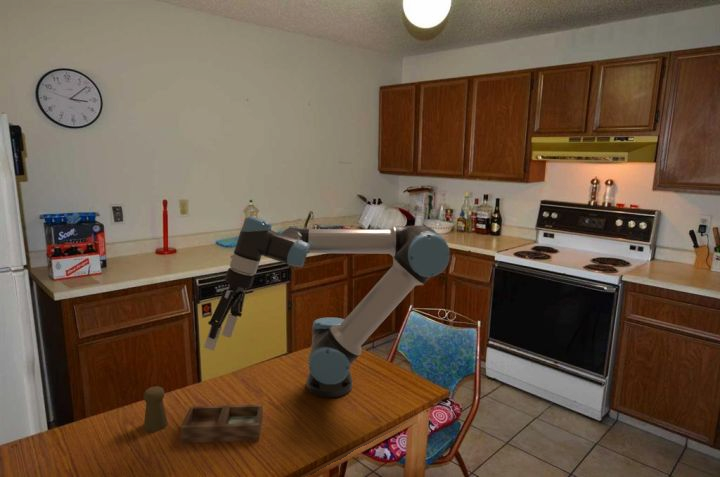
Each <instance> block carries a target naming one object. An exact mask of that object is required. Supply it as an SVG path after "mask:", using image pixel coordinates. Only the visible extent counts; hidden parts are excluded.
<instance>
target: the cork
mask: <svg viewBox="0 0 720 477" xmlns="http://www.w3.org/2000/svg"><path fill="white" fill-rule="evenodd" d="M164 398H165V389H164V388H163V387H162V386H157V385H156V386H151V387H149V388H147V389H146V390H145V391H144V393H143V400H144V401H145V411H144V412H145V414H144V424H143V430H145V432H148V433H154V432H155V433H156V432H159V431H161V430H164V429H165V428H166V427H167V426H168V418H167V413H166V408H165V404H164V400H163V399H164Z"/></svg>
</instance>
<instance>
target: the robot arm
mask: <svg viewBox="0 0 720 477" xmlns="http://www.w3.org/2000/svg"><path fill="white" fill-rule="evenodd" d="M242 224H243V225H242V228H241V229H240V230H239V234H238V235H239V236H238V238H237V242H236V244H235V248H234V250H233V254H232V255H230V259H231V261H230V263H229V268H228V269H227V271H226V274H225V278H224V282H226V283H227V284H229V287H228V288H227V289H225V288H224V289H223V292H222V295H221V298H220V299H219V302H218V303H217V306H216V308H215V309H214V312H213V314H212V316H211V318H210V320H209V321H208V322H207V324H208V325H210V328H209V330H208V334H207V337H206V340H205V343H204V346H203V348H204V349H207V350H210V351H215V349H216V346H217V343H218V340H219V337H220V334H221V336H224V337H226V338H229V339H231V338H232V336H233V333H234V330H235V327H236V324H237V320H238V318H241V317H242V316H243V313H242V312H243V309H244V308H243V307H244V304H245V303H244V302H245V297H246V292H247V289H251V288H252V285H253V283H254V280H255V274H257V271H258V268H259V265H260V262H261V259H262V256H263V257H265V258H268V259H272V260H274V261H276V262H280V263H283V264H286V265H289V267H297V268H302V267H304V265H305V262H306V258H307V255H308V254H353V255H354V254H355V255H356V254H362V255H363V254H366V255H367V254H368V255H369V254H370V255H371V254H373V255H374V254H375V255H376V254H379V255H380V254H382V255H384V254H385V255H387V254H388V255H390V257H391V256H392V262H393V264H392V266H391V267H390V268H389V269H388V270H387V272H386V273H385V274H384V275H383V276H382V277H381V278H380V280H378V281H377V283H376V284H375V285H374V286H373V287H372V288H371V290H370V291H368V293H367V294H366V295H365V296H364V297H363V299H361V301H360V302H359V303H358V304H357V305H356V306H355V308H353V310H352V311H351V312H350V313H349V314H348V315H347V316H346V318H340V317H330V316H329V317H328V316H327V317H321V318H317V319H315V320H313V323H312V327H311V329H312V339H311V347H310V354H309V356H308V361H307V362H308V370H309V372H308V375H307V377H306V389H307V391H308V392H309V393H310V394H312V395H314V396H316V397H320V398H328V399H329V398H330V399H331V398H338V397H342V396H345V395H347V394H348V393H350V392H351V390H352V389H353V377H352V374H351V365H352V364H354V362H355V361H356V360H357V359H358V358H359V356H360V355H361V354H362V345H363V344H364V343H365V342H366V341H367V340H368V339H369V338H370V337H371V335H372V334H373V333H374V332H375V331H376V330H377V329H378V328H379V326H380V325H381V324H382V323H383V322H384V321H385V320H386V319H387V318H388V316H390V315H391V313H392V312H393V311H394V310H395V309H396V308H397V306H399V304H400V303H401V302H402V301H403V300H404V299H405V298H406V297H407V296H408V294H409V293H410V292H411V291H412V290H413V289H414V288H415V287H416V286H424V285H425V284H426V283H427V281H429V280H430V279H431V278H432V277H436V276H437V275H438V276H439V275H440V274H441V273H442V272H444V271H445V269H447V267H448V264H449V262H450V258H451V252H450V248H449V245H448V243H447V242H446V240H445V238H444V237H443V236H442V235H440V234H439V233H438V232H436V231H435V230H434V228H431V227H429V226H427V225H426V226H425V225H404V226H397V225H396V226H395V225H393V226H392V227H391V228H389V229H376V228H375V229H372V228H371V229H370V228H369V229H366V228H365V229H362V228H361V229H355V228H353V229H349V228H347V229H343V228H341V229H340V228H334V229H333V228H330V229H329V228H326V229H325V228H322V229H321V228H309V229H308V228H300V227H297V226H291V227H289V228H286V229H285V230H283V231H282V233H280V232H277V231H274V230H273V229H272V223H271V222H270V221H268V220H265V219H262V218H259V217H256V216H251V215H250V216H247V217H246V218H245V219H244V222H243V223H242ZM229 312H230V313H229ZM226 318H227V319H226ZM225 320H226V321H225ZM224 322H225V324H224ZM223 324H224V327H223V328H222V325H223ZM222 329H223V330H222ZM221 331H222V333H221Z"/></svg>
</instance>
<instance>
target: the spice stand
mask: <svg viewBox="0 0 720 477" xmlns="http://www.w3.org/2000/svg"><path fill="white" fill-rule="evenodd" d="M263 413H264V410H263V403H262V404H261V403H260V404H232V405H199V406H195V405H194V406H190V407H189V409H188V411H187V412H186V415H185V417H184V420H182V424H181V426H180V428H179V429H180V444H199V443H203V444H205V443H224V442H226V443H227V442H228V443H229V442H248V441H249V442H250V441H252V442H253V441H255V442H256V441H260V437H261V432H262V425H263V421H264V420H263V419H264V416H263V415H264V414H263Z"/></svg>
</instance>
